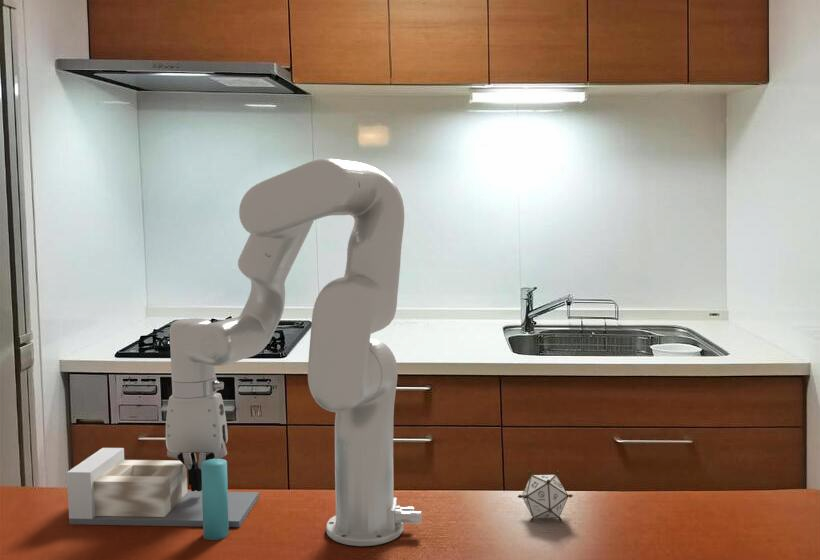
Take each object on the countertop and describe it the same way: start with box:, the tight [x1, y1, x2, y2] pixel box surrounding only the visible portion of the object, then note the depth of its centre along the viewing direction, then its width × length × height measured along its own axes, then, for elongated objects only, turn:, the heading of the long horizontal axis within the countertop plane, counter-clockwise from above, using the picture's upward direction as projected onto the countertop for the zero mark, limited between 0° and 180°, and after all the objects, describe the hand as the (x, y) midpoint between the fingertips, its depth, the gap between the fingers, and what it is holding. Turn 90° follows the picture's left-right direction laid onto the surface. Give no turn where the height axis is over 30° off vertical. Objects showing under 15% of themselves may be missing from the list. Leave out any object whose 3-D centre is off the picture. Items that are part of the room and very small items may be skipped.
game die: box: [517, 470, 574, 523], centre depth 127 cm, size 9×8×10 cm
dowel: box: [201, 458, 230, 541], centre depth 121 cm, size 4×4×12 cm
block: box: [94, 459, 188, 517], centre depth 131 cm, size 12×11×6 cm
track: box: [66, 447, 260, 528], centre depth 131 cm, size 29×13×9 cm, turn 87°
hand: (198, 488), depth 135 cm, fingers closed
